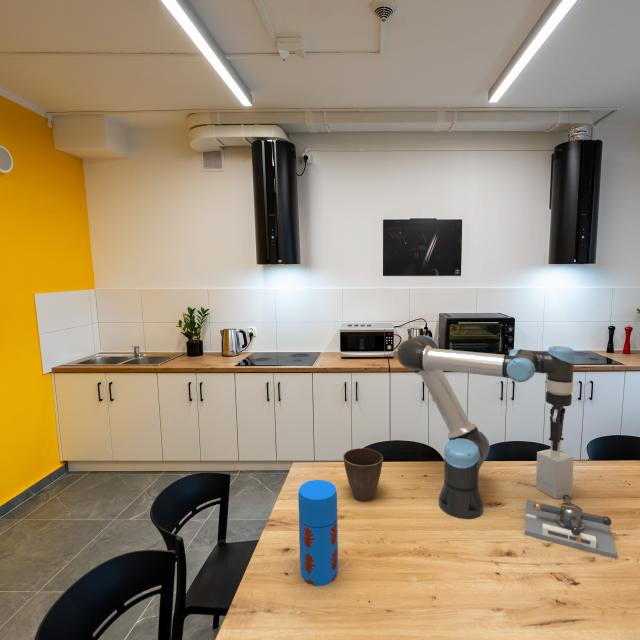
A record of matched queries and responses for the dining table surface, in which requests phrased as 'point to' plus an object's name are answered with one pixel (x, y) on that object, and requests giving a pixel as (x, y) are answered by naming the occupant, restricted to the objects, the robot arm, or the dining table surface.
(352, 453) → the plant pot
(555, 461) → the supplement box
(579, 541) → the stand
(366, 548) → the dining table surface
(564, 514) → the capstan
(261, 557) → the dining table surface
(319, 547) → the thermos
